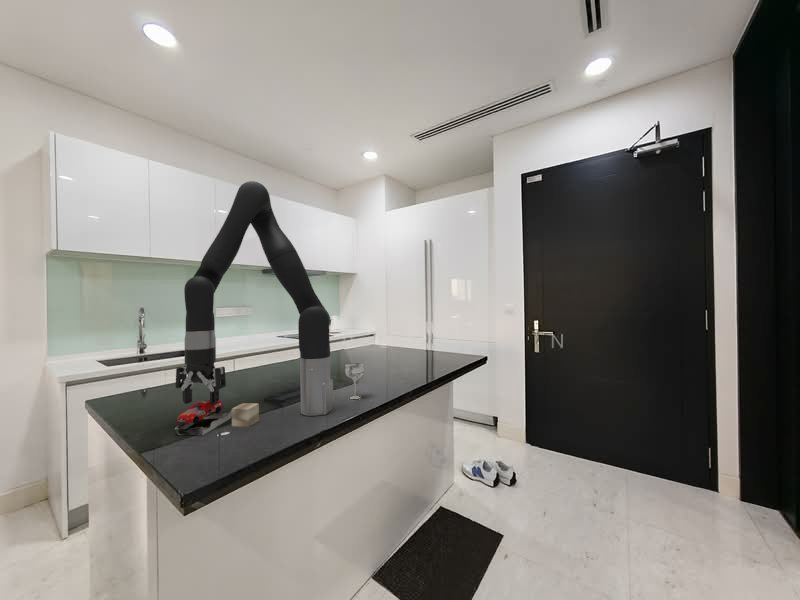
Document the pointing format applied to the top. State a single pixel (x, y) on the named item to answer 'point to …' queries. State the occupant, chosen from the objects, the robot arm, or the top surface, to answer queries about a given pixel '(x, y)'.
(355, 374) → the wineglass
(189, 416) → the race car
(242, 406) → the birch block
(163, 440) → the top surface
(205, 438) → the top surface
